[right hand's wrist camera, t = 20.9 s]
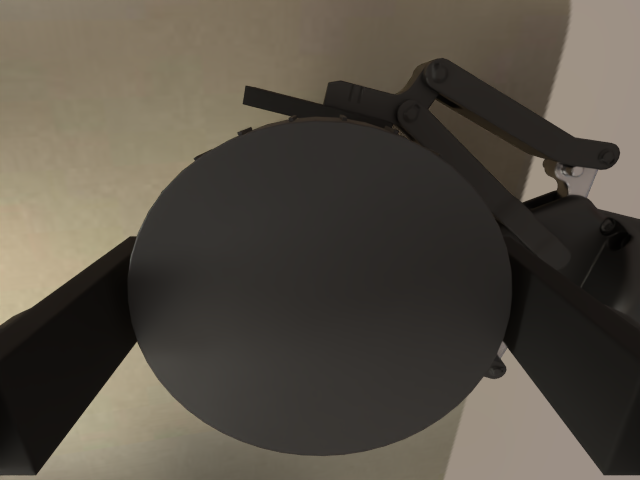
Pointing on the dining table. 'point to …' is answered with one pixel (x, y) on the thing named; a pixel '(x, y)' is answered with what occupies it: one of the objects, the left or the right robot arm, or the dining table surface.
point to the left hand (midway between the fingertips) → (233, 198)
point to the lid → (319, 287)
